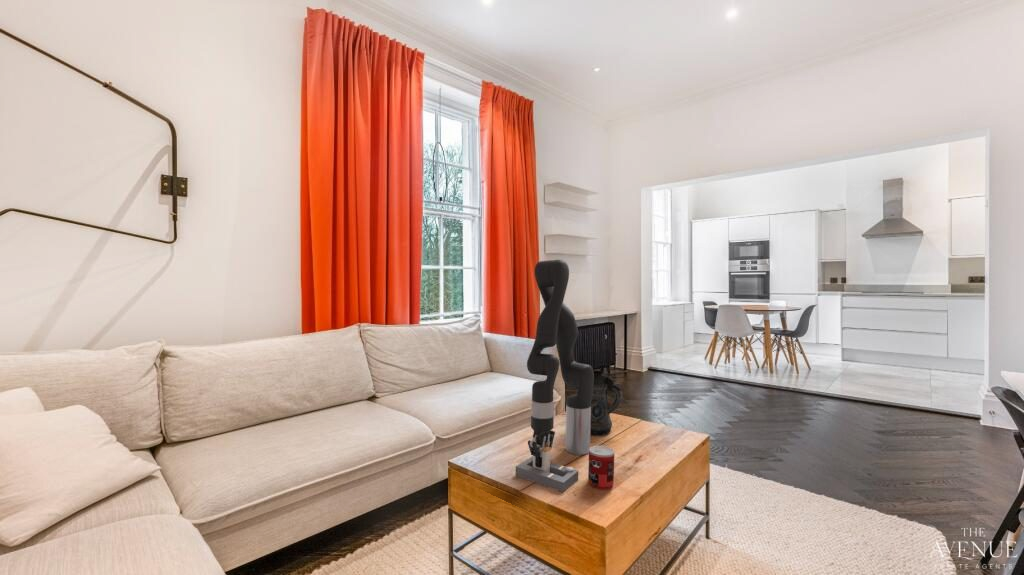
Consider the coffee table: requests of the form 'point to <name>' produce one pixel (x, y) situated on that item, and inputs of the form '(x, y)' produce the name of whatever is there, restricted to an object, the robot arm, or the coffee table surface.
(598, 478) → the canned food
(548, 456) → the fader tab
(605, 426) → the beer stein
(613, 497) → the coffee table surface
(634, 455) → the coffee table surface
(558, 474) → the console
